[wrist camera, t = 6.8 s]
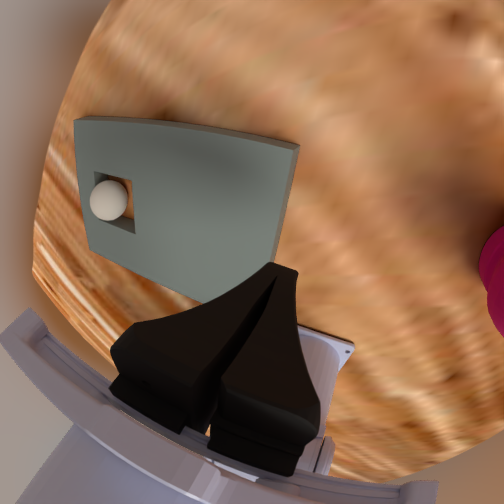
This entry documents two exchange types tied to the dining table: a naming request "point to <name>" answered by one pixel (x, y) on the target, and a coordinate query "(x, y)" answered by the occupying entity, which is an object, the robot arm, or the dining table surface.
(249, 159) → the plate
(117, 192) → the ball
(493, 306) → the pepper mill
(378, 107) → the dining table surface
